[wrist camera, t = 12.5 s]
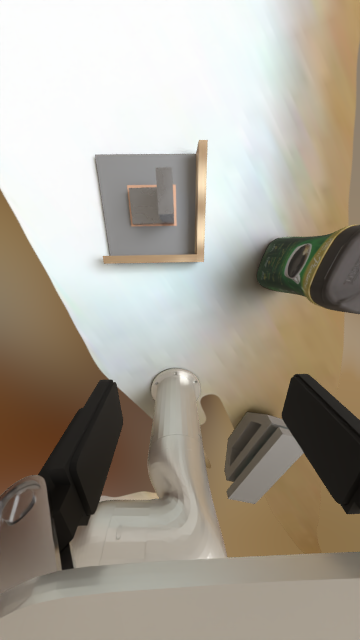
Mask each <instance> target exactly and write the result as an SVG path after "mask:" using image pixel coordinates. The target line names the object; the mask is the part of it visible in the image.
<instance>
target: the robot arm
mask: <svg viewBox="0 0 360 640" xmlns="http://www.w3.org/2000/svg"><path fill="white" fill-rule="evenodd" d="M200 393H201V386H200V382H199V380H198V378H197V377H196V376H195V375H194V374H193V373H191V372H189V371H187V370H184V369H179V368H174V369H168V370H165V371H163V372H161V373H160V374H158V375H157V376H156V377H155V379H154V380H153V382H152V386H151V394H152V397H153V399H154V401H155V410H154V417H153V424H152V432H151V440H150V447H149V454H148V472H149V476H150V480H151V482H152V485H153V487H154V489H155V491H156V493H157V495H158V497H159V499H152V500H106V501H101V502H99V500H100V497H101V494H102V491H103V487H104V484H105V481H106V478H107V474H108V471H109V468H110V465H111V461H112V458H113V455H114V451H115V449H116V445H117V442H118V439H119V436H120V432H121V429H122V425H123V417H122V411H121V407H120V401H119V395H118V390H117V384H116V382H113V380H100V381H99V382H98V384H97V386H96V388H95V389H94V391H93V392H92V394H91V396H90V397H89V399H88V401H87V402H86V404H85V406H84V407H83V408H81V409H79V410H78V412H77V413H76V415H75V416H74V418H73V420H72V421H71V423H70V424H69V426H68V428H67V429H66V431H65V432H64V434H63V436H62V437H61V439H60V441H59V442H58V444H57V445H56V447H55V448H54V450H53V452H52V453H51V455H50V457H49V458H48V460H47V461H46V463H45V464H44V466H43V468H42V469H41V471H40V473H39V474H38V475H32V476H28V477H25V478H23V479H21V480H19V481H17V482H16V483H14V484H13V485H12V486H10V487H9V488H8V489H7V490H6V491H5V492H4V493H3V494H2V495H1V496H0V640H360V552H347V553H323V554H322V553H321V554H299V555H276V556H255V557H234V558H227V554H226V549H225V546H224V541H223V537H222V533H221V530H220V527H219V523H218V520H217V516H216V512H215V508H214V504H213V500H212V496H211V492H210V487H209V482H208V477H207V471H206V464H205V457H204V451H203V444H202V437H201V430H200V423H199V416H198V409H197V402H196V401H197V400H198V398H199V396H200ZM282 419H283V421H284V423H285V424H286V426H287V427H288V429H289V431H290V432H291V434H292V435H293V437H294V438H295V440H296V441H297V443H298V444H299V446H300V448H301V449H302V451H303V452H304V454H305V455H306V457H307V458H308V460H309V461H310V463H311V465H312V466H313V468H314V469H315V471H316V472H317V474H318V475H319V477H320V478H321V480H322V482H323V483H324V485H325V486H326V488H327V489H328V491H329V492H330V494H331V495H332V497H333V498H334V499H335V501H336V502H337V503H339V504H341V506H342V507H343V509H344V511H345V512H346V514H360V420H359V419H358V418H357V417H356V416H354V415H353V414H352V413H351V412H350V411H349V410H348V409H347V408H346V407H344V406H343V405H342V404H341V403H340V402H339V401H338V400H336V399H335V398H334V397H333V396H332V395H331V394H330V393H329V392H328V391H327V390H326V389H324V388H323V387H322V386H321V385H320V384H319V383H318V382H317V381H316V380H314V379H313V378H312V377H311V376H310V375H308V374H295V375H294V377H292V378H291V381H290V384H289V388H288V392H287V396H286V400H285V404H284V407H283V411H282Z"/></svg>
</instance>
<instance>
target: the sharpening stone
mask: <svg viewBox="0 0 360 640" xmlns="http://www.w3.org/2000/svg"><path fill="white" fill-rule="evenodd" d="M303 453H304V452H303V451H302V449H301V448H300V446H299V444H298V443H297V441H296V440H295V438H294V437H293V435H292V434H291V432H290V431H289V429H288V427H287V426H286V424H285V423H284V421H283V419H280V418H277V417H273V416H270V415H266V414H258V413H251V412H246V414H245V415H244V417H243V418H242V420H241V421H240V422H239V424H238V425H237V427H236V428H235V430H234V431H233V432H232V434H231V435H230V437H229V438H228V444H227V454H226V462H225V475H226V480H228V481H232V482H234V483H233V484H232V485H231V486H230V488H229V489H228V490H227V495H228V499H232V500H238V501H243V502H248V503H253V504H255V503H256V502H257V501H258V500H259V499H260V498H261V497H262V496H263V495H264V494H265V493H266V492H267V491H268V490H269V489H270V488H271V486H272V485H273V484H274V483H275V482H276V481H277V480H278V479H279V478H280V477H281V476H282V475H283V474H284V473H285V472H286V471H287V470H288V469H289V468H290V467H291V465H292V464H293V463H294V462H295V461H296V460H297V459H298V458H299V457H300V456H301V455H302V454H303Z"/></svg>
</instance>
